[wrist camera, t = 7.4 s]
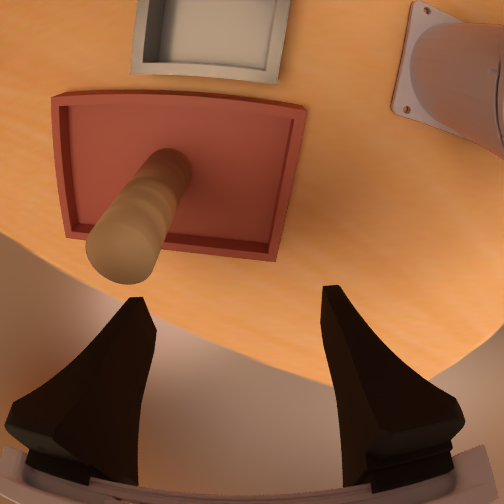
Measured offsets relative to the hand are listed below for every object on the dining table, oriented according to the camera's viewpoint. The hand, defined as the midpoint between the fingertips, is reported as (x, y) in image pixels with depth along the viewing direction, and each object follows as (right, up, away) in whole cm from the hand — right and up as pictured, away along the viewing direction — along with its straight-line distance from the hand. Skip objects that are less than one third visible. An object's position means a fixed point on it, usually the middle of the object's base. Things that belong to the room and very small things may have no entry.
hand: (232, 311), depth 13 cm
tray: (-5, +8, +7) cm, 11 cm away
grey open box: (-1, +16, +2) cm, 16 cm away
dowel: (-5, +7, +7) cm, 11 cm away
